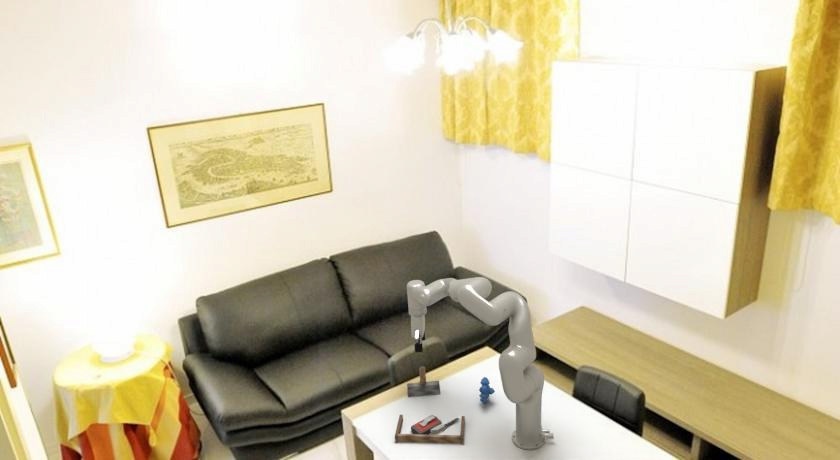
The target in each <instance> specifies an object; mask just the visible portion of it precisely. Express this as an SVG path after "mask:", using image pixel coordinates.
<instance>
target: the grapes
mask: <svg viewBox="0 0 840 460" xmlns="http://www.w3.org/2000/svg"><path fill="white" fill-rule="evenodd" d="M479 383H480V384H481V386H480V387H479V389H478V391H479V392H480V394H479V397H480V399H479V401H480V403H481V404H483V405H485V404H487V403H489V401H490V400H489V399H488V398H489V397H490V395H493V394H495V392H496V391H495V389H494V388H493V387H491V386H490V379H489V378H488V377H486V376H483V378H481V379H480V382H479Z"/></svg>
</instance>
